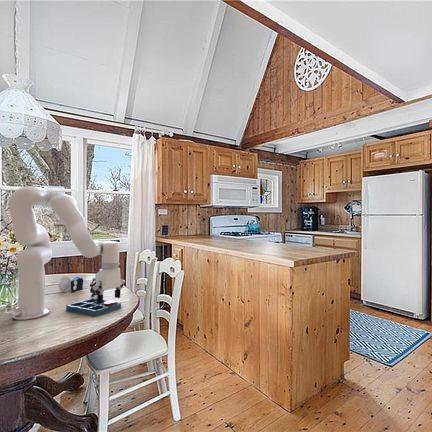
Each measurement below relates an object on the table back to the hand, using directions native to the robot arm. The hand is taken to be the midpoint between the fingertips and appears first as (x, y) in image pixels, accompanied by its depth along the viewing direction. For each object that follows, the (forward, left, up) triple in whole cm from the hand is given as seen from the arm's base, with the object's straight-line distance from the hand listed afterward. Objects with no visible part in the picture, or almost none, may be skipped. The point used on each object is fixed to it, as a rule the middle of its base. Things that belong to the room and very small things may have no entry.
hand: (108, 300), depth 152 cm
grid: (-3, +6, -5) cm, 8 cm away
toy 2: (+19, +31, -5) cm, 37 cm away
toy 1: (+16, +51, -5) cm, 54 cm away
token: (0, 0, -4) cm, 4 cm away
